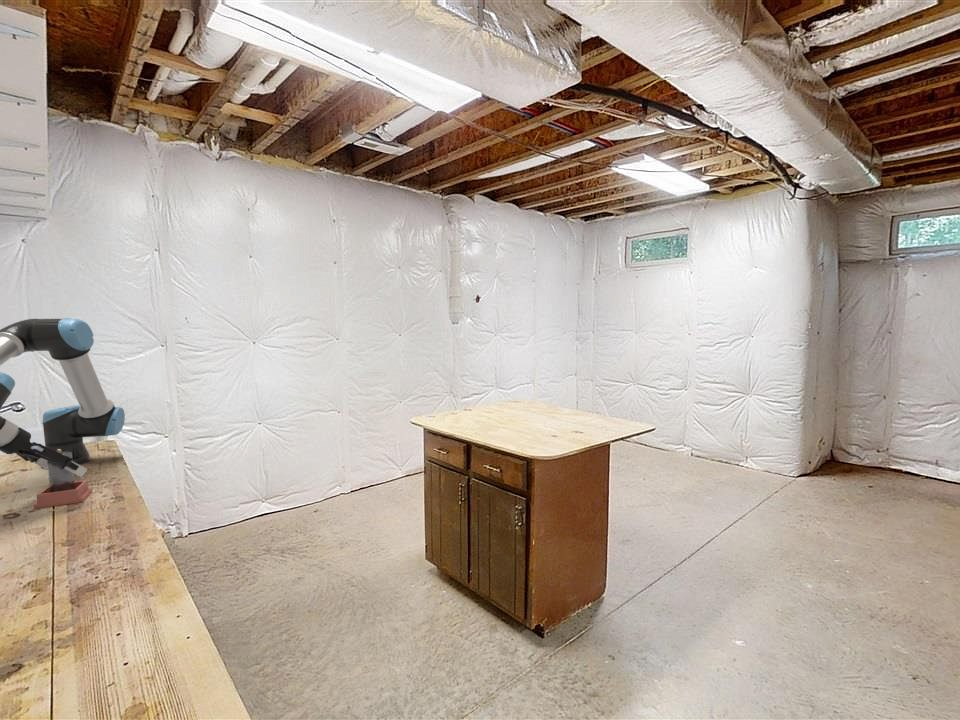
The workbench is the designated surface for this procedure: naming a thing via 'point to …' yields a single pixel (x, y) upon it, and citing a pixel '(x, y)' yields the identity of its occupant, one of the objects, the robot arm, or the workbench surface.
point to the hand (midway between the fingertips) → (70, 471)
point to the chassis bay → (63, 495)
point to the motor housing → (60, 476)
